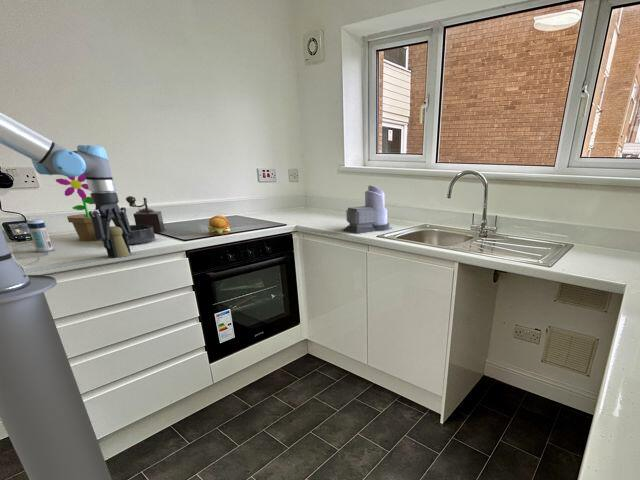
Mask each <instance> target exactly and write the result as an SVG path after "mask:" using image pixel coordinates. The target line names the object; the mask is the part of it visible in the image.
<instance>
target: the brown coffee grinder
mask: <svg viewBox="0 0 640 480" xmlns="http://www.w3.org/2000/svg"><path fill="white" fill-rule="evenodd" d="M125 201H126V202H127V203H128V206H129V207H132V208H138V210H137V211H135V213H133V219H134V223H135V225H149V226H153V230H154V234H155V233H162V232H164V230H165V229H166V228H165V223H164V219H163V215H162V211H161V210H154V209H152V208H149V207H148V200H147V198H146V197H143V203H142V204H140V205H137V204H136V201H137V199H136V197H134V196H131V195H129V196H126V197H125ZM142 207H145V208H142Z"/></svg>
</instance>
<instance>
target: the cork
mask: <svg viewBox="0 0 640 480" xmlns="http://www.w3.org/2000/svg"><path fill="white" fill-rule="evenodd" d="M122 233H123V231H122V229H121V228H120V227H116V226H115V225H114V226H110V239H111V240H113V244H114V248H115V252H116V255H117V257H116V258H124V257H130V254H131V253H129V251H128V249H127V247H126V244H125V242H124V240H123V237H122Z"/></svg>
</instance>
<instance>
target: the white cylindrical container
mask: <svg viewBox="0 0 640 480" xmlns="http://www.w3.org/2000/svg"><path fill="white" fill-rule="evenodd" d="M26 226H27V228H28V231H29V234H30V237H31V240H32V243H33V245H34V249H35V251H36V252H39V253H45V252H46V253H47V252H51V251H52V250H54V247H53V245H52V241H51V239H50V235H49V233H48V230H47V226H46V224H45V221H44V220H42V219H41V218H33V219H26Z"/></svg>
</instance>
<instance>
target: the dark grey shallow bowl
mask: <svg viewBox="0 0 640 480" xmlns="http://www.w3.org/2000/svg"><path fill="white" fill-rule="evenodd" d="M129 225H130V228H131V233H130V236H128V239H129V245H137V244H138V245H139V244H144V243H149V242H152V241H154V240H156V235H155V233H154V230H153V226H149V225H136V224H129ZM126 230H127V229H126Z"/></svg>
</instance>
